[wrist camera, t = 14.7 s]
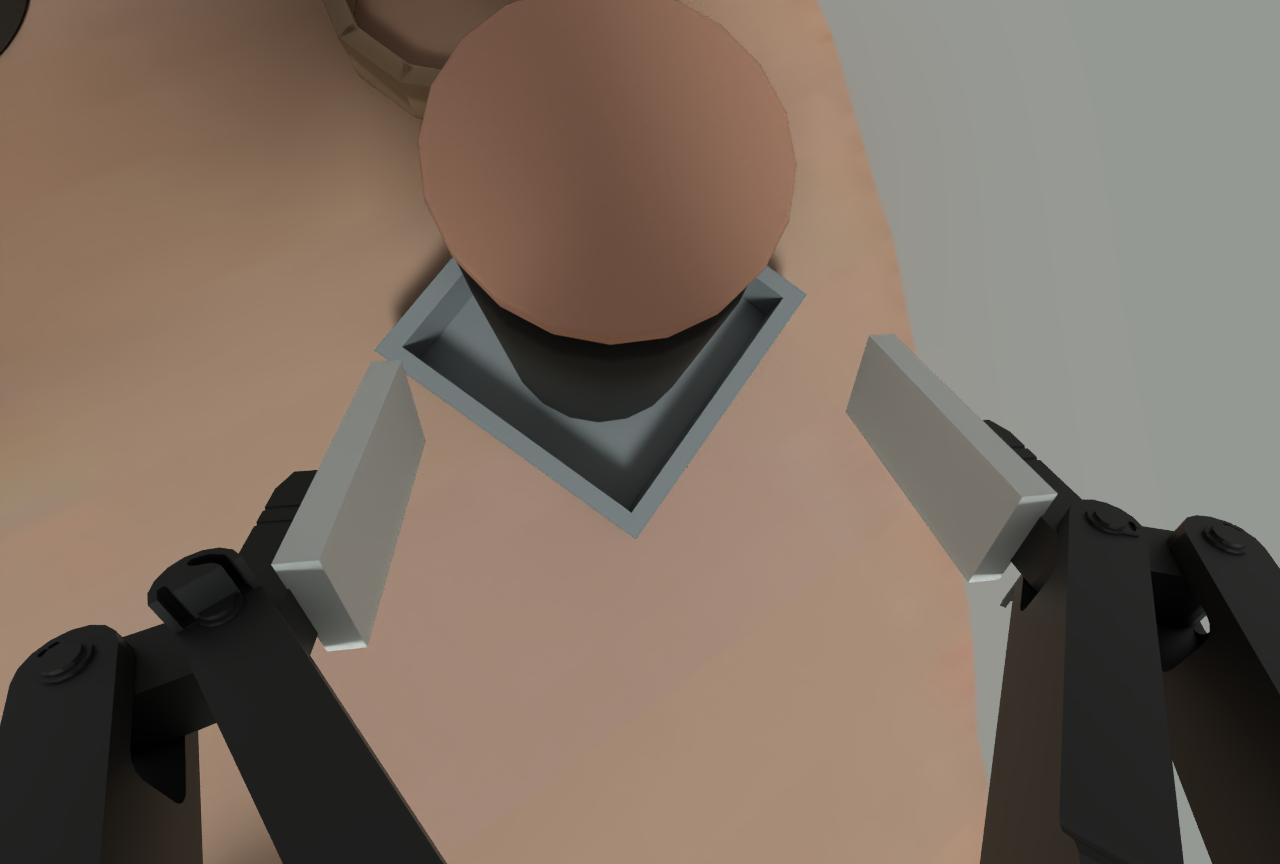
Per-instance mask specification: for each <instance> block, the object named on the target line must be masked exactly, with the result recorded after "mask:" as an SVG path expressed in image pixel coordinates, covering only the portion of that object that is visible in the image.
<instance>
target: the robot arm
mask: <svg viewBox="0 0 1280 864" xmlns="http://www.w3.org/2000/svg"><path fill="white" fill-rule="evenodd" d="M26 1H27V0H0V52H1V51H2V50H3V49H4V48H5V46H6V45H7V44H8V42H9V41H10V39H11V38H12V36H13V35H14V33H15V31H16V29H17V27H18V26H19V23H20V21H21V19H22V16H23V13H24V10H25V6H26ZM846 413H847V414H848V416H849V417H850V418H851V420H852V421H853V422H854V424H855V425H856V427H857V428H858V429H859V431H860V432H861V434H862V435H863V436H864V438H865V439H866V441H867V442H868V443H869V445H870V446H871V448H872V449H873V450H874V452H875V453H876V455H877V456H878V457H879V459H880V460H881V462H882V463H883V464H884V466H885V467H886V469H887V470H888V471H889V473H890V474H891V476H892V477H893V478H894V480H895V481H896V483H897V484H898V485H899V487H900V488H901V489H902V491H903V492H904V494H905V495H906V496H907V498H908V499H909V501H910V502H911V503H912V505H913V506H914V508H915V509H916V510H917V512H918V513H919V515H920V516H921V517H922V519H923V520H924V522H925V523H926V524H927V526H928V527H929V529H930V530H931V531H932V533H933V534H934V536H935V537H936V538H937V540H938V541H939V543H940V544H941V545H942V547H943V548H944V550H945V551H946V552H947V554H948V555H949V556H950V558H951V559H952V561H953V562H954V563H955V565H956V566H957V568H958V569H959V570H960V572H961V573H962V575H963V576H964V577H965V579H966V580H967V582H978V581H988V580H997V579H1000V577H1001V576H1002V574H1003V573H1004V571H1005V570H1006V569H1007V567H1008V566H1009V564H1010V563H1011V562H1012V563H1013V564H1014V566H1015V567H1016V568H1017V569H1018V570H1019V572H1020V573H1021V575H1020V577H1019V578H1018V579H1017V581H1016V582H1015V584H1014V585H1013V586H1012V588H1011V589H1010V591H1009V592H1008V593H1007V595H1006V596H1005V598H1004V599H1003V601H1002V603H1001V606H1003V607H1006V606H1007V605H1008V604H1009V602H1010V601H1013V603H1012V611H1011V618H1010V627H1009V634H1008V643H1007V650H1006V659H1005V667H1004V674H1003V683H1002V690H1001V699H1000V707H999V715H998V723H997V731H996V739H995V747H994V755H993V763H992V772H991V779H990V787H989V795H988V803H987V811H986V819H985V827H984V835H983V843H982V851H981V859H980V864H1184V862H1183V853H1182V844H1181V835H1180V826H1179V818H1178V810H1177V800H1176V791H1175V783H1174V774H1173V766H1172V761H1173V763H1174V766H1175V768H1176V771H1177V774H1178V776H1179V779H1180V781H1181V784H1182V787H1183V789H1184V792H1185V794H1186V797H1187V800H1188V802H1189V804H1190V807H1191V810H1192V812H1193V815H1194V818H1195V820H1196V822H1197V825H1198V828H1199V831H1200V833H1201V836H1202V838H1203V841H1204V844H1205V846H1206V849H1207V851H1208V854H1209V856H1210V859H1211V862H1212V864H1280V568H1279V567H1278V566H1277V564H1276V563H1275V561H1274V560H1273V559H1272V557H1271V556H1270V554H1269V553H1268V552H1267V550H1266V549H1265V548H1264V547H1263V546H1262V545H1261V544H1260V542H1258V541H1257V540H1256V538H1254V537H1252V536H1251V535H1250V534H1248V533H1246V532H1245V531H1244V530H1243V529H1241V528H1239V527H1237V526H1236V525H1233V524H1231V523H1229V522H1226V521H1222V520H1219V519H1216V518H1212V517H1207V516H1198V515H1196V516H1191V517H1187V518H1186V519H1185V520H1184V521H1183V522H1182V524H1181V525H1180V526H1179V527H1178V528H1177V529H1176V530H1175V531H1169V530H1163V529H1156V528H1149V527H1143V526H1141V525H1140V524H1139V523H1138V522H1137V521H1136V520H1135V519H1134V518H1133V517H1132V516H1130V515H1129V514H1127V513H1126V512H1124V511H1123V510H1121V509H1119V508H1117V507H1114V506H1112V505H1110V504H1107V503H1104V502H1100V501H1096V500H1082V499H1081V498H1080V497H1079V496H1078V495H1077V494H1076V493H1074V492H1073V491H1072V490H1071V489H1070V488H1069V487H1068V486H1067V485H1066V484H1065V483H1064V482H1063V481H1062V480H1061V479H1060V478H1058V477H1057V476H1056V475H1055V474H1054V473H1053V472H1052V471H1051V470H1050V469H1049V468H1048V467H1047V466H1046V465H1045V464H1044V463H1042V462H1041V461H1040V460H1037V457H1036V456H1035V455H1034V454H1033V453H1032V452H1031V451H1030V450H1029V449H1025V446H1024V445H1023V444H1022V443H1021V442H1020V441H1019V440H1018V439H1017V438H1016V437H1015V436H1014V435H1013V434H1012V433H1011V432H1009V431H1008V430H1006V429H1004V428H1003V427H1001V426H999V425H997V424H995V423H994V422H992V421H990V420H981V418H980V417H978V416H977V415H976V414H975V413H974V412H973V411H972V410H971V409H970V408H969V407H968V406H967V405H966V404H965V403H964V402H963V401H962V400H961V399H960V398H959V397H958V396H957V395H956V394H955V393H954V392H953V391H952V390H951V389H950V388H949V387H948V386H947V385H945V383H943V381H942V380H941V379H939V378H938V377H937V376H936V375H935V374H934V373H933V372H932V371H931V370H930V369H929V368H928V367H927V366H926V365H925V364H924V363H923V362H922V361H921V360H920V359H919V358H918V357H917V356H916V355H915V354H914V353H913V352H912V351H911V350H910V349H909V348H908V347H907V346H906V345H905V344H904V343H903V342H902V341H900V340H899V339H898V338H897V337H896V336H895V335H894V334H886V335H869V337H868V341H867V344H866V347H865V351H864V354H863V357H862V360H861V364H860V367H859V370H858V373H857V377H856V380H855V383H854V386H853V390H852V393H851V396H850V399H849V403H848V406H847V409H846ZM425 441H426V440H425V437H424V434H423V430H422V427H421V424H420V420H419V417H418V414H417V410H416V407H415V404H414V400H413V397H412V394H411V390H410V387H409V384H408V380H407V377H406V374H405V370H404V367H403V364H402V360H397V361H378V362H371V364H370V366H369V368H368V370H367V372H366V374H365V376H364V378H363V380H362V382H361V384H360V386H359V388H358V390H357V392H356V394H355V396H354V398H353V400H352V402H351V404H350V406H349V408H348V410H347V412H346V414H345V416H344V418H343V420H342V422H341V424H340V426H339V428H338V430H337V432H336V434H335V436H334V438H333V440H332V442H331V444H330V446H329V448H328V450H327V453H326V455H325V457H324V459H323V461H322V463H321V465H320V467H319V469H318V470H312V471H299V472H293V473H292V474H291V475H290V476H289V477H288V478H287V479H286V480H285V481H283V482H282V483H281V484H280V485H279V486H278V487H277V488H276V489H275V490H274V492H273V494H272V496H271V497H270V499H269V501H268V503H267V504H266V506H265V511H263V512H262V513H261V515H260V517H259V519H258V520H257V526H254V528H253V529H252V531H251V533H250V535H249V536H248V538H247V540H246V542H245V544H244V545H243V547H242V549H241V551H240V552H239V554H238V553H237V552H235V551H234V550H233V549H226V548H214V549H207V550H202V551H199V552H197V553H194V554H192V555H189V556H187V557H184V558H183V559H181V560H179V561H178V562H176V563H175V564H173V565H171V566H170V567H168V568H167V569H166V570H165V571H164V572H163V573H162V574H161V575H160V576H159V577H158V578H157V579H156V580H155V581H154V583H153V584H152V586H151V588H150V590H149V592H148V594H147V595H148V606H149V607H150V608H151V609H152V610H153V611H154V612H155V613H156V614H157V616H158V617H159V618H160V619H161V620H162V621H163V622H164V624H161V625H158V626H155V627H152V628H149V629H146V630H143V631H140V632H137V633H134V634H131V635H128V636H125V637H122V636H121V635H119V634H118V633H117V632H116V631H115V630H113V629H112V628H110V627H108V626H106V625H88V626H85V627H81V628H77V629H74V630H70V631H68V632H66V633H64V634H62V635H60V636H58V637H56V638H54V639H52V640H50V641H49V642H47V643H46V644H45V645H43V646H42V647H41V648H39V649H38V650H36V651H35V652H34V653H32V654H31V655H30V656H29V657H28V658H27V660H26V661H25V662H24V663H23V664H22V665H21V666H20V667H19V668H18V669H17V671H16V673H15V675H14V677H13V679H12V681H11V683H10V686H9V690H8V695H7V699H6V703H5V708H4V712H3V716H2V720H1V725H0V864H203V855H202V828H201V800H200V772H199V745H198V730H200V729H202V728H205V727H207V726H210V725H212V724H215V723H217V724H218V726H219V729H220V731H221V733H222V735H223V737H224V739H225V741H226V743H227V746H228V748H229V750H230V752H231V754H232V756H233V758H234V760H235V763H236V765H237V767H238V769H239V771H240V773H241V775H242V777H243V780H244V782H245V784H246V786H247V788H248V790H249V792H250V794H251V797H252V799H253V801H254V803H255V805H256V807H257V809H258V811H259V814H260V816H261V818H262V820H263V822H264V824H265V826H266V828H267V831H268V833H269V835H270V837H271V839H272V841H273V843H274V845H275V848H276V850H277V852H278V854H279V856H280V858H281V860H282V862H283V864H447V863H446V861H445V860H444V858H443V857H442V855H441V854H440V852H439V851H438V849H437V848H436V846H435V845H434V843H433V842H432V840H431V839H430V837H429V836H428V834H427V833H426V831H425V829H424V828H423V826H422V825H421V823H420V822H419V820H418V819H417V817H416V816H415V814H414V813H413V811H412V810H411V808H410V807H409V805H408V804H407V802H406V801H405V799H404V798H403V796H402V795H401V793H400V791H399V790H398V788H397V787H396V785H395V784H394V782H393V781H392V779H391V778H390V776H389V775H388V773H387V772H386V770H385V769H384V767H383V766H382V764H381V763H380V761H379V760H378V758H377V757H376V755H375V753H374V752H373V750H372V749H371V747H370V746H369V744H368V743H367V741H366V740H365V738H364V737H363V735H362V734H361V732H360V731H359V729H358V728H357V726H356V725H355V723H354V722H353V720H352V718H351V717H350V715H349V714H348V712H347V711H346V709H345V708H344V706H343V705H342V703H341V702H340V700H339V699H338V697H337V696H336V694H335V693H334V691H333V690H332V688H331V687H330V685H329V684H328V682H327V680H326V679H325V677H324V676H323V674H322V673H321V671H320V670H319V668H318V667H317V665H316V664H315V662H314V661H313V659H312V658H311V656H310V654H311V651H312V649H313V646H314V643H315V641H316V638H317V636H318V638H319V640H320V641H321V643H322V644H323V646H324V647H325V649H326V650H327V651H336V650H345V649H354V648H364V647H367V646H368V642H369V639H370V635H371V631H372V628H373V624H374V621H375V617H376V614H377V610H378V607H379V603H380V600H381V596H382V593H383V589H384V586H385V582H386V579H387V575H388V571H389V568H390V564H391V561H392V557H393V554H394V550H395V547H396V543H397V540H398V536H399V533H400V529H401V526H402V522H403V519H404V515H405V511H406V508H407V504H408V501H409V497H410V494H411V490H412V487H413V483H414V480H415V476H416V473H417V469H418V466H419V462H420V459H421V455H422V451H423V448H424V444H425ZM1206 615H1207V617H1208V620H1209V623H1210V632H1209V633H1206V631H1205V630H1204V628H1203V626H1202V624H1201V622H1200V621H1201V620H1202V619H1203V618H1204V617H1205V616H1206Z"/></svg>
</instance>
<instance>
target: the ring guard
mask: <svg viewBox="0 0 1280 864" xmlns="http://www.w3.org/2000/svg"><path fill="white" fill-rule="evenodd" d="M322 1H323V3H324V5H325V8H326V10H327V12H328V14H329V17H330V19H331V21H332V24H333V26H334V28H335V31H336V33H337V35H338V37H339V39H340V41H341V43H342V45H343V47H344V49H345V50H346V52H347V54H348V56H349V58H350V60H351V62H352V63H353V65H354V67H355V69H356V71H357V73H358V75H359V76H360V77H361V78H362V79H364V80H365V81H367V82H368V83H369V84H371V85H372V86H373V87H375V88H376V89H377V90H379V91H380V92H382V93H383V94H384V95H386V96H387V97H388V98H390V99H391V100H393V101H394V102H395V103H397V104H398V105H399V106H401V107H402V108H404V109H405V110H406V111H408V112H409V113H410V114H412V115H413V116H415V117H416V118H422V119H423V118H424V113H425V109H426V105H427V101H428V96H429V92H430V88H431V85H432V84H433V82H434V80H435V79H436V77H437V76H438V74H439V73H440V71H441V70H442V69H436V68H429V67H423V66H417V65H411V64H408V63H407V62H405V61H404V60H402V59H401V58H400V57H398V56H397V55H396V54H394V53H393V52H392V51H390V50H389V49H387V48H386V47H385V46H383V45H382V44H381V43H379V42H378V41H376V40H375V39H374V38H372V37H371V36H370V35H368V34H367V33H366V32H364V31H363V30H361V29H360V28H359V26H358V24H357V22H356V19H355V17H354V12H355V7H356V1H357V0H322Z"/></svg>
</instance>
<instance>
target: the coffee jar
mask: <svg viewBox="0 0 1280 864" xmlns="http://www.w3.org/2000/svg"><path fill="white" fill-rule="evenodd" d="M418 149H419V157H420V165H421V174H422V182H423V190H424V199H425V203H426V205H427V207H428V209H429V211H430V213H431V215H432V217H433V219H434V221H435V223H436V225H437V227H438V229H439V231H440V233H441V235H442V237H443V239H444V241H445V243H446V245H447V247H448V249H449V251H450V254H451V255H452V257H453V258H454V259H455V260H456V262H457V264H458V266H459V268H460V270H461V272H462V274H463V276H464V278H465V280H466V282H467V284H468V286H469V288H470V290H471V292H472V294H473V296H474V297H475V299H476V301H477V303H478V305H479V306H480V308H481V310H482V312H483V313H484V315H485V317H486V319H487V321H488V322H489V324H490V326H491V328H492V329H493V331H494V333H495V335H496V337H497V338H498V340H499V342H500V344H501V345H502V347H503V349H504V351H505V352H506V354H507V356H508V358H509V360H510V361H511V363H512V365H513V367H514V368H515V370H516V372H517V374H518V376H519V377H520V379H521V381H522V383H523V384H524V385H525V386H526V387H527V388H528V389H529V390H530V391H531V392H532V393H533V394H534V395H535V396H536V397H537V398H538V399H539V400H540V401H541V402H542V403H543V404H545V405H547V406H548V407H550V408H552V409H554V410H556V411H558V412H560V413H562V414H564V415H566V416H568V417H570V418H576V419H581V420H587V421H593V422H605V421H612V420H620V419H627V418H629V417H631V416H633V415H635V414H637V413H639V412H641V411H643V410H646V409H648V408H650V407H652V406H653V405H654V404H655V403H656V402H657V401H658V400H659V399H661V398H662V397H663V396H664V395H665V394H666V393H667V392H668V391H669V390H670V389H671V388H672V387H673V386H674V384H675V383H676V382H677V381H678V379H679V378H680V377H681V376H682V374H683V373H684V372H685V371H686V369H687V368H688V367H689V365H690V364H691V363H692V362H693V360H694V359H695V358H696V357H697V355H698V354H699V353H700V352H701V350H702V349H703V348H704V346H705V345H706V344H707V343H708V341H709V340H710V339H711V338H712V336H713V335H714V334H715V333H716V331H717V330H718V329H719V327H720V326H721V325H722V324H723V322H724V321H725V320H726V319H727V317H728V316H729V315H730V314H731V312H732V311H733V310H734V308H735V307H736V306H737V305H738V303H739V302H740V300H741V298H742V296H743V294H744V292H745V290H746V288H747V286H748V285H749V284H750V283H751V282H752V281H753V280H754V279H755V278H756V277H757V276H758V275H759V274H760V273H761V272H762V271H763V270H764V269H765V268H766V266H767V264H768V262H769V260H770V258H771V256H772V254H773V252H774V250H775V248H776V246H777V244H778V242H779V240H780V238H781V236H782V234H783V232H784V230H785V228H786V226H787V224H788V222H789V219H790V212H791V204H792V197H793V189H794V182H795V174H796V166H797V165H796V160H795V154H794V149H793V144H792V139H791V134H790V129H789V123H788V118H787V113H786V111H785V109H784V107H783V105H782V103H781V101H780V100H779V98H778V96H777V94H776V92H775V90H774V89H773V87H772V85H771V83H770V81H769V79H768V78H767V76H766V74H765V72H764V70H763V68H762V66H761V65H760V63H759V62H758V61H757V60H756V59H755V58H754V57H753V56H752V55H751V54H750V53H749V52H748V51H747V50H746V49H745V48H744V47H743V46H742V45H741V44H740V43H739V42H738V41H737V40H736V39H735V38H734V37H733V36H732V35H731V34H730V33H729V32H728V31H727V30H726V29H725V28H724V27H723V26H722V25H720V24H719V23H717V22H715V21H713V20H711V19H710V18H708V17H706V16H704V15H702V14H701V13H699V12H697V11H695V10H693V9H692V8H690V7H688V6H686V5H684V4H683V3H681V2H679V1H677V0H519V1H516V2H514V3H511V4H508V5H505V6H504V7H503V8H501V9H500V10H499V11H498V12H496V13H495V14H494V15H492V16H491V17H490V18H488V19H487V20H486V21H485V22H483V23H482V24H481V25H479V26H478V27H477V28H476V29H474V30H473V31H472V32H470V33H469V34H468V35H466V36H465V37H464V38H463V39H461V41H460V42H459V44H458V45H457V47H456V48H455V50H454V51H453V53H452V54H451V56H450V58H449V59H448V61H447V62H446V64H445V65H444V67H443V68H442V70H441V71H440V73H439V74H438V76H437V77H436V79H435V80H434V82H433V84H432V85H431V88H430V92H429V96H428V101H427V105H426V109H425V113H424V118H423V122H422V126H421V130H420V135H419V139H418Z"/></svg>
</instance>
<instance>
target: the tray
mask: <svg viewBox="0 0 1280 864" xmlns="http://www.w3.org/2000/svg"><path fill="white" fill-rule="evenodd" d="M806 295H807V294H805V293H804V292H803V291H801V290H800V289H798V288H797V287H796V286H794V285H793V284H792V283H790V282H789V281H788V280H786V279H785V278H783V277H782V276H781V275H779V274H778V273H777V272H775V271H774V270H772V269H771V268H770V267H768V266H766V268H765V269H764V270H763V271H762V272H761V273H760V274H759V275H758V276H757V277H756V278H755V279H754V280H753V281H752V282H751V283H750V284H749V285H748V286H747V288H746V290H745V292H744V294H743V296H742V298H741V300H740V302H739V303H738V305H737V306H736V307H735V308H734V310H733V311H732V312H731V314H730V315H729V316H728V317H727V319H726V320H725V321H724V322H723V324H722V325H721V326H720V327H719V329H718V330H717V331H716V333H715V334H714V335H713V336H712V338H711V339H710V340H709V341H708V343H707V344H706V345H705V346H704V348H703V349H702V350H701V352H700V353H699V354H698V355H697V357H696V358H695V359H694V360H693V362H692V363H691V364H690V365H689V367H688V368H687V369H686V371H685V372H684V373H683V374H682V376H681V377H680V378H679V379H678V381H677V382H676V383H675V384H674V386H673V387H672V388H671V389H670V390H669V391H668V392H667V393H666V394H665V395H664V396H663V397H662V398H661V399H659V400H658V401H657V402H656V403H655V404H654V405H653V406H652V407H650V408H648V409H646V410H643V411H641V412H639V413H637V414H635V415H633V416H631V417H629V418H627V419H620V420H612V421H605V422H593V421H587V420H581V419H576V418H570V417H568V416H566V415H564V414H562V413H560V412H558V411H556V410H554V409H552V408H550V407H548V406H547V405H545V404H543V403H542V402H541V401H540V400H539V399H538V398H537V397H536V396H535V395H534V394H533V393H532V392H531V391H530V390H529V389H528V388H527V387H526V386H525V385H524V384H523V383H522V381H521V379H520V377H519V376H518V374H517V372H516V370H515V368H514V367H513V365H512V363H511V361H510V360H509V358H508V356H507V354H506V352H505V351H504V349H503V347H502V345H501V344H500V342H499V340H498V338H497V337H496V335H495V333H494V331H493V329H492V328H491V326H490V324H489V322H488V321H487V319H486V317H485V315H484V313H483V312H482V310H481V308H480V306H479V305H478V303H477V301H476V299H475V297H474V296H473V294H472V292H471V290H470V288H469V286H468V284H467V282H466V280H465V278H464V276H463V274H462V272H461V270H460V268H459V266H458V264H457V262H456V260H455V259H454V258H453V257H452V258H451V260H450V261H449V262H448V263H447V264H446V265H445V267H444V268H443V269H442V270H441V271H440V273H439V274H438V275H437V276H436V277H435V279H434V280H433V281H432V282H431V283H430V285H429V286H428V287H427V288H426V289H425V290H424V292H423V293H422V294H421V295H420V296H419V298H418V299H417V300H416V301H415V302H414V304H413V305H412V306H411V307H410V308H409V310H408V311H407V312H406V313H405V314H404V315H403V317H402V318H401V319H400V320H399V321H398V323H397V324H396V325H395V326H394V327H393V329H392V330H391V331H390V332H389V333H388V334H387V336H386V337H385V338H384V339H383V340H382V342H381V343H380V344H379V345H378V346H377V348H376V349H375V350H374V351H376V352H377V353H379V354H380V355H381V356H383V357H384V358H385V359H387V360H388V361H397V360H402V364H403V367H404V370H405V373H406V374H408V375H409V376H410V377H412V378H413V379H415V380H416V381H417V382H419V383H420V384H421V385H423V386H424V387H426V388H427V389H428V390H430V391H431V392H433V393H434V394H435V395H437V396H438V397H439V398H441V399H442V400H444V401H445V402H446V403H448V404H449V405H451V406H452V407H453V408H455V409H456V410H457V411H459V412H460V413H462V414H463V415H464V416H466V417H467V418H469V419H470V420H471V421H473V422H474V423H475V424H477V425H478V426H480V427H481V428H482V429H484V430H485V431H487V432H488V433H489V434H491V435H492V436H493V437H495V438H496V439H498V440H499V441H500V442H502V443H503V444H505V445H506V446H507V447H509V448H510V449H511V450H513V451H514V452H516V453H517V454H518V455H520V456H521V457H523V458H524V459H525V460H527V461H528V462H529V463H531V464H532V465H534V466H535V467H536V468H538V469H539V470H541V471H542V472H543V473H545V474H546V475H547V476H549V477H550V478H552V479H553V480H554V481H556V482H557V483H559V484H560V485H561V486H563V487H564V488H565V489H567V490H568V491H570V492H571V493H572V494H574V495H575V496H576V497H578V498H579V499H581V500H582V501H583V502H585V503H586V504H588V505H589V506H590V507H592V508H593V509H594V510H596V511H597V512H599V513H600V514H601V515H603V516H604V517H606V518H607V519H608V520H610V521H611V522H612V523H614V524H615V525H617V526H618V527H619V528H621V529H622V530H624V531H625V532H626V533H628V534H629V535H630V536H632V537H633V538H635V539H637V537H638V536H639V534H640V533H641V532H642V530H643V529H644V527H645V526H646V524H647V523H648V522H649V520H650V519H651V517H652V516H653V514H654V513H655V511H656V510H657V509H658V507H659V506H660V504H661V503H662V501H663V500H664V499H665V497H666V496H667V494H668V493H669V491H670V490H671V489H672V487H673V486H674V484H675V483H676V481H677V480H678V479H679V477H680V476H681V474H682V473H683V471H684V470H685V468H686V467H687V466H688V464H689V463H690V461H691V460H692V458H693V457H694V456H695V454H696V453H697V451H698V450H699V448H700V447H701V446H702V444H703V443H704V441H705V440H706V438H707V437H708V436H709V434H710V433H711V431H712V430H713V428H714V427H715V425H716V424H717V423H718V421H719V420H720V418H721V417H722V415H723V414H724V413H725V411H726V410H727V408H728V407H729V405H730V404H731V403H732V401H733V400H734V398H735V397H736V395H737V394H738V393H739V391H740V390H741V388H742V387H743V385H744V384H745V382H746V381H747V380H748V378H749V377H750V375H751V374H752V372H753V371H754V370H755V368H756V367H757V365H758V364H759V362H760V361H761V360H762V358H763V357H764V355H765V354H766V352H767V351H768V350H769V348H770V347H771V345H772V344H773V342H774V341H775V339H776V338H777V337H778V335H779V334H780V332H781V331H782V329H783V328H784V327H785V325H786V324H787V322H788V321H789V319H790V318H791V317H792V315H793V314H794V312H795V311H796V309H797V308H798V307H799V305H800V304H801V302H802V301H803V299H804V298H805V296H806Z"/></svg>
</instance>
